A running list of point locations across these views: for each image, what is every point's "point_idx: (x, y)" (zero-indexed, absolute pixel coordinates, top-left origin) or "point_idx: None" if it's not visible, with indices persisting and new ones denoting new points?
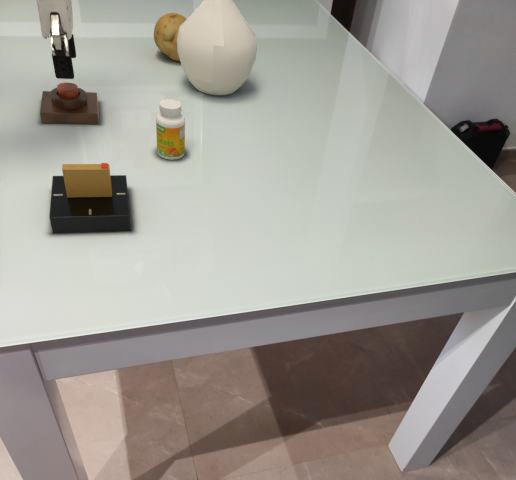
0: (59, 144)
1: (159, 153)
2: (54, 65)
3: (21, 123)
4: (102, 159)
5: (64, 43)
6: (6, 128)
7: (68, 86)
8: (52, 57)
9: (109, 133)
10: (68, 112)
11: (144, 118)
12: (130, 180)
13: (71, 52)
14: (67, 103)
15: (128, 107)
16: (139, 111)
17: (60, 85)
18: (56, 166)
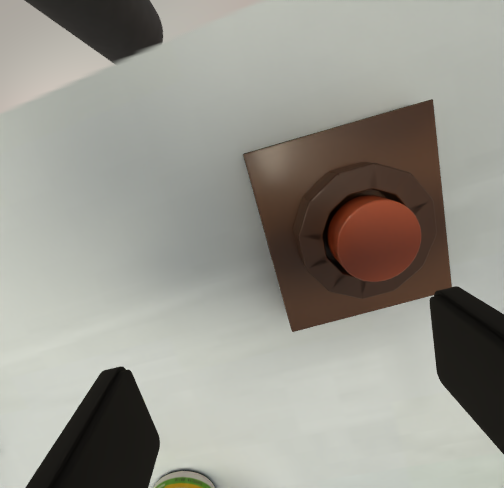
0: (129, 247)
1: (158, 485)
2: (70, 430)
3: (223, 83)
4: (96, 370)
5: (497, 396)
6: (169, 44)
7: (379, 247)
8: (31, 485)
9: (241, 352)
10: (274, 247)
11: (353, 410)
12: (29, 445)
13: (456, 383)
14: (299, 247)
15: (414, 360)
16: (394, 390)
17: (382, 214)
18: (8, 277)
